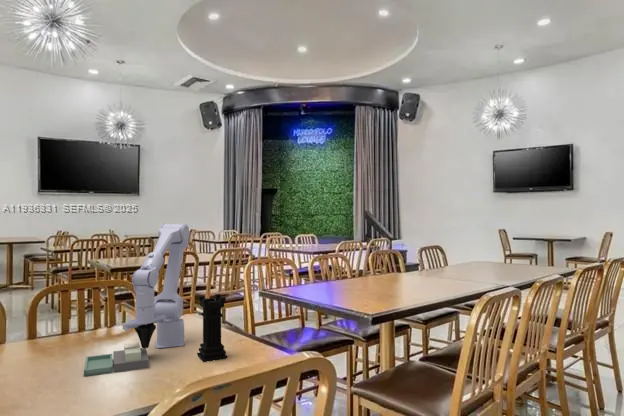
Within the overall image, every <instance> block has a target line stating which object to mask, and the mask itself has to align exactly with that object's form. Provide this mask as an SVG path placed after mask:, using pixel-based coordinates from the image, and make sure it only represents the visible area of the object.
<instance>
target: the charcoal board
mask: <svg viewBox="0 0 624 416" xmlns="http://www.w3.org/2000/svg"><path fill="white" fill-rule="evenodd" d="M140 350H141V360H137V361H130V362H125V354H124V349H121V350H116V351H115V350H114V351H113V353H112V362H113V374H114V373H120V372H121V373H122V372H128V371H129V372H130V371H135V370H137V371H138V370H143V369H149V368H150V359H149V355H148V351H147V348H142V347H140Z"/></svg>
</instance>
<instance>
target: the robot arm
mask: <svg viewBox="0 0 624 416" xmlns="http://www.w3.org/2000/svg"><path fill="white" fill-rule="evenodd" d="M157 231H158V240H157V242H156V244H155V247H154V248H153V251H152V252H149V253H148V254H147V256H146V257H145V259H144V261H143V263H142V265H141V266H140V268H139V269H136V270H135V271H134V272H133V274H132V278H131V284H132V286H133V292H134V293H135V319H133V320H130V321H127V322H123V323H122V330H124V331H128V330H130V329H134V330H135V333H136V334H137V336H138V339H139V341H140V342H139V343H140V345H141V346H140V347H141V348H146V349H147V348H148V349H149V347H150V343H151V339H152V336H153V334H154V333H155V330H156V341H154V344H155V347H156V349H167V348H173V347H181V346H182V347H183V346H185V321H184V318H182V316H183V313H184V299H183V298H182V297H181V295H179V293H178V287H179V281H180V276H181V270H182V264H183V258H184V250H185V249H186V248H188V246H189V245H188V244H189V241H190V228H189V226H188V224H187V223H161V224H160V226H159V228H158V230H157ZM168 250H169V253H168V254H169V255H168V260H167V264H166V271H165V277H164V282H163V287H162V291H161V293H159V294H157V296H155V287H156V285H157V284H158V280H159V276H160V275H159V274H160V272H159V271H160V269H161V268H162V266H163V264H164V261H165V259H164V255H165V254H166V252H167V251H168Z"/></svg>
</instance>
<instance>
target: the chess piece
mask: <svg viewBox="0 0 624 416" xmlns="http://www.w3.org/2000/svg"><path fill="white" fill-rule="evenodd" d="M198 301H199V306H200V307H201V308H202V312H201V316H202V343H199V347H198V352H196V356H197V355H198V356H197V357H198V358H199V359H200V361H201V360H202V361H203V362H202V361H201V362H202V363H208V362H207V361H209V362H214V361H213V360H215V361H221V360H226V358H227V359H228V355H227V354H226V353H227V352H226V349H225V345H224V344H223V343H222V318H223V316H224V314H223V313H222V308H225V302H226V301H227V299H226V297H225V296H222V294H220V293H217V294H216V293H215V294H214V298H213V297H212V298H208V297H207V298H205V295H198ZM220 359H221V360H220Z"/></svg>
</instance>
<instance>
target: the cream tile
mask: <svg viewBox="0 0 624 416" xmlns="http://www.w3.org/2000/svg"><path fill="white" fill-rule="evenodd" d="M140 345H141V344H140V342H130V343H124V344H123V350H124V354H125V350H126V349H135V348H141V346H140Z"/></svg>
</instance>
